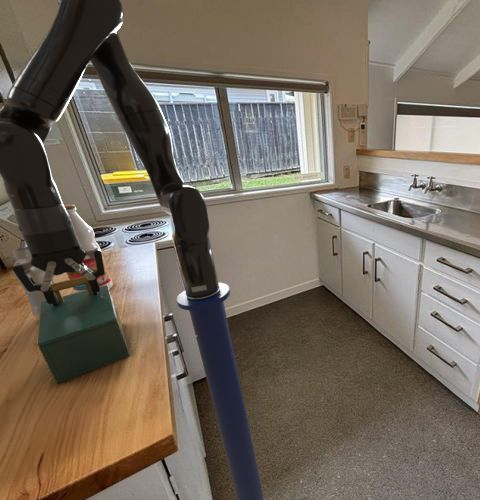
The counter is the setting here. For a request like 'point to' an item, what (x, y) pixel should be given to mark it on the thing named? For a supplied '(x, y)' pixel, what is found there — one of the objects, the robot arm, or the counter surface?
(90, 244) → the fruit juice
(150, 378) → the counter surface
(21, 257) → the plastic bottle
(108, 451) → the counter surface
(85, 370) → the bin
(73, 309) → the bin lid
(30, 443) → the counter surface
